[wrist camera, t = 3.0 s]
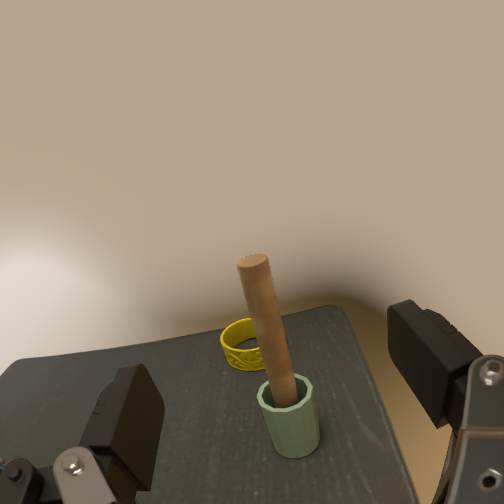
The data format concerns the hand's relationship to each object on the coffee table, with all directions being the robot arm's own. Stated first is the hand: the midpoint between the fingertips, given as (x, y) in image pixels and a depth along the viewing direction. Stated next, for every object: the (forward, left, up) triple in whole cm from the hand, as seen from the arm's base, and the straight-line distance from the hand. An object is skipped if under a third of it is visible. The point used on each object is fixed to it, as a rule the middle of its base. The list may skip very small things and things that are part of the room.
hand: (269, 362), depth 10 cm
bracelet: (-12, +24, -19) cm, 33 cm away
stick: (-4, +10, -18) cm, 22 cm away
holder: (-4, +10, -19) cm, 22 cm away
